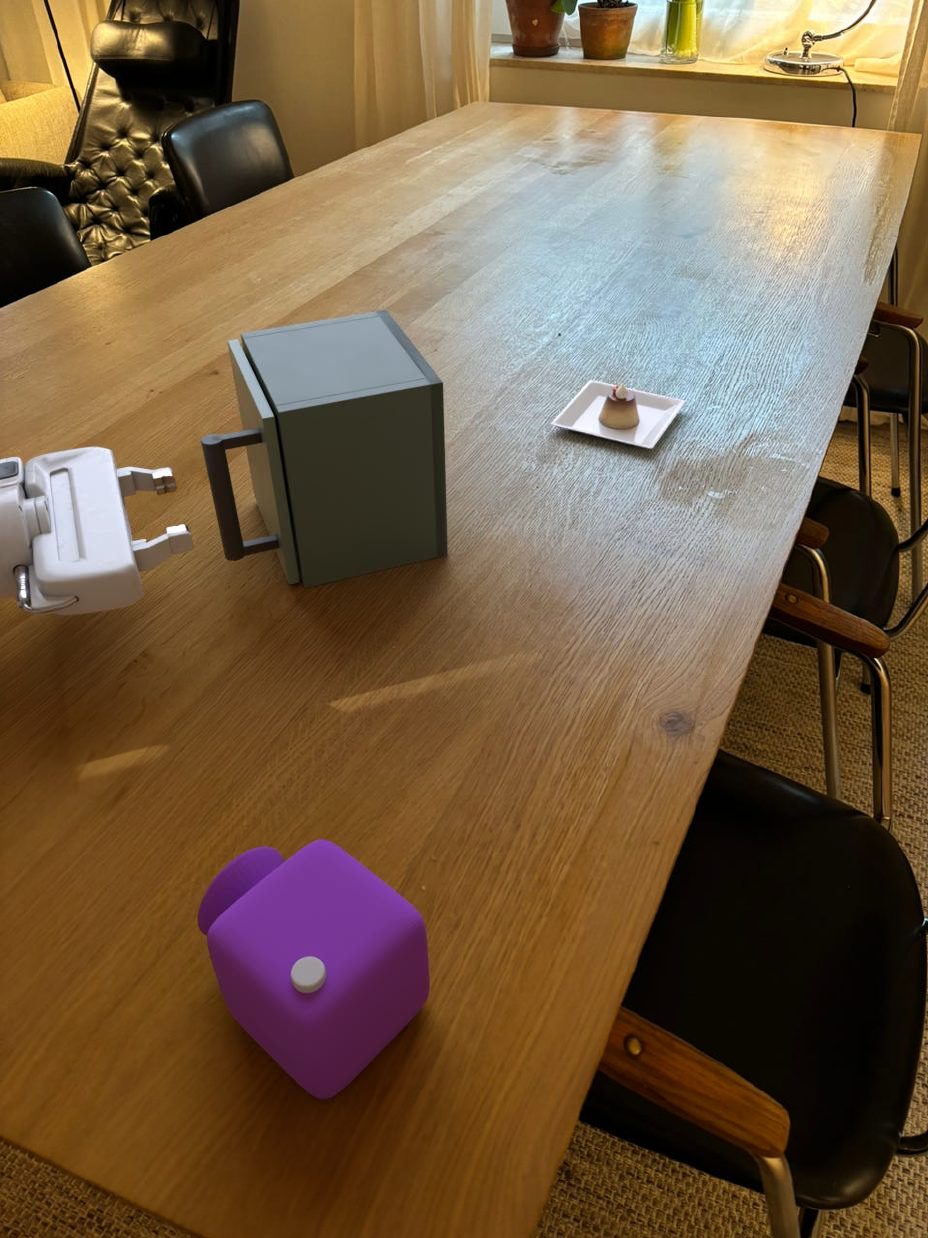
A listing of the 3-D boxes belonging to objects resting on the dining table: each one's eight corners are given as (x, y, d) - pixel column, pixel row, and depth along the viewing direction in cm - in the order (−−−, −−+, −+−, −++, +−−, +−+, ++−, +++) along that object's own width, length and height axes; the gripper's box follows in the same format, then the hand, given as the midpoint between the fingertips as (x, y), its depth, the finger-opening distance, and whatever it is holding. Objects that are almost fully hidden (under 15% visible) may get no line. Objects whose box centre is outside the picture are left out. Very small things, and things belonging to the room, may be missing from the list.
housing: (304, 588, 91) (278, 412, 79) (267, 498, 102) (240, 332, 91) (448, 554, 95) (443, 381, 83) (397, 471, 106) (386, 309, 94)
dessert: (589, 387, 120) (592, 350, 117) (685, 409, 116) (691, 371, 113) (549, 432, 112) (551, 394, 109) (651, 457, 108) (656, 418, 104)
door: (235, 597, 89) (200, 430, 78) (206, 506, 100) (172, 349, 89) (299, 582, 91) (274, 416, 80) (264, 494, 102) (237, 338, 91)
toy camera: (279, 880, 67) (258, 783, 60) (453, 974, 61) (449, 879, 55) (166, 1011, 60) (128, 917, 53) (350, 1131, 54) (332, 1042, 48)
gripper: (3, 585, 72) (195, 543, 76) (-2, 449, 87) (159, 419, 90) (29, 649, 76) (209, 607, 80) (20, 509, 91) (173, 478, 94)
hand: (182, 506), depth 85 cm, fingers open, 8 cm apart
